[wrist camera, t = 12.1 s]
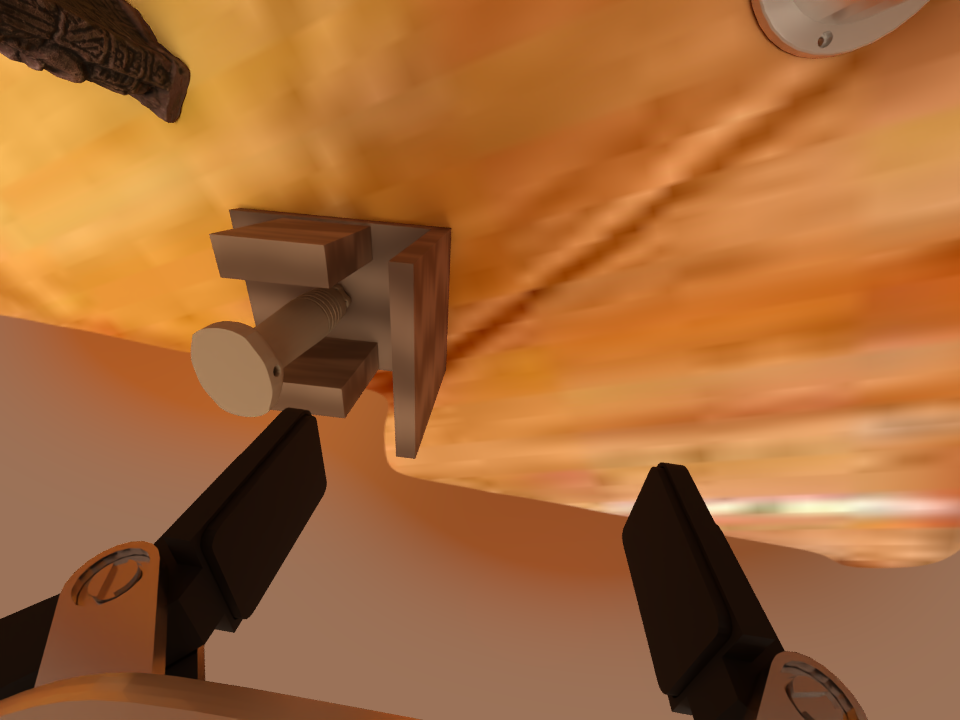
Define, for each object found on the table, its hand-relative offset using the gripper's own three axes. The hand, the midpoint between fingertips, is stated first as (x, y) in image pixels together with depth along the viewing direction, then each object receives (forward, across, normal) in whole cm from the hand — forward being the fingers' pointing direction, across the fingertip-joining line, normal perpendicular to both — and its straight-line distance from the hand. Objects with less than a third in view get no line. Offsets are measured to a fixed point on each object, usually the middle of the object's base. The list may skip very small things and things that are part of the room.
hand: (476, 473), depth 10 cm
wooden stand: (+27, +16, +6) cm, 32 cm away
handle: (+25, +16, +6) cm, 31 cm away
